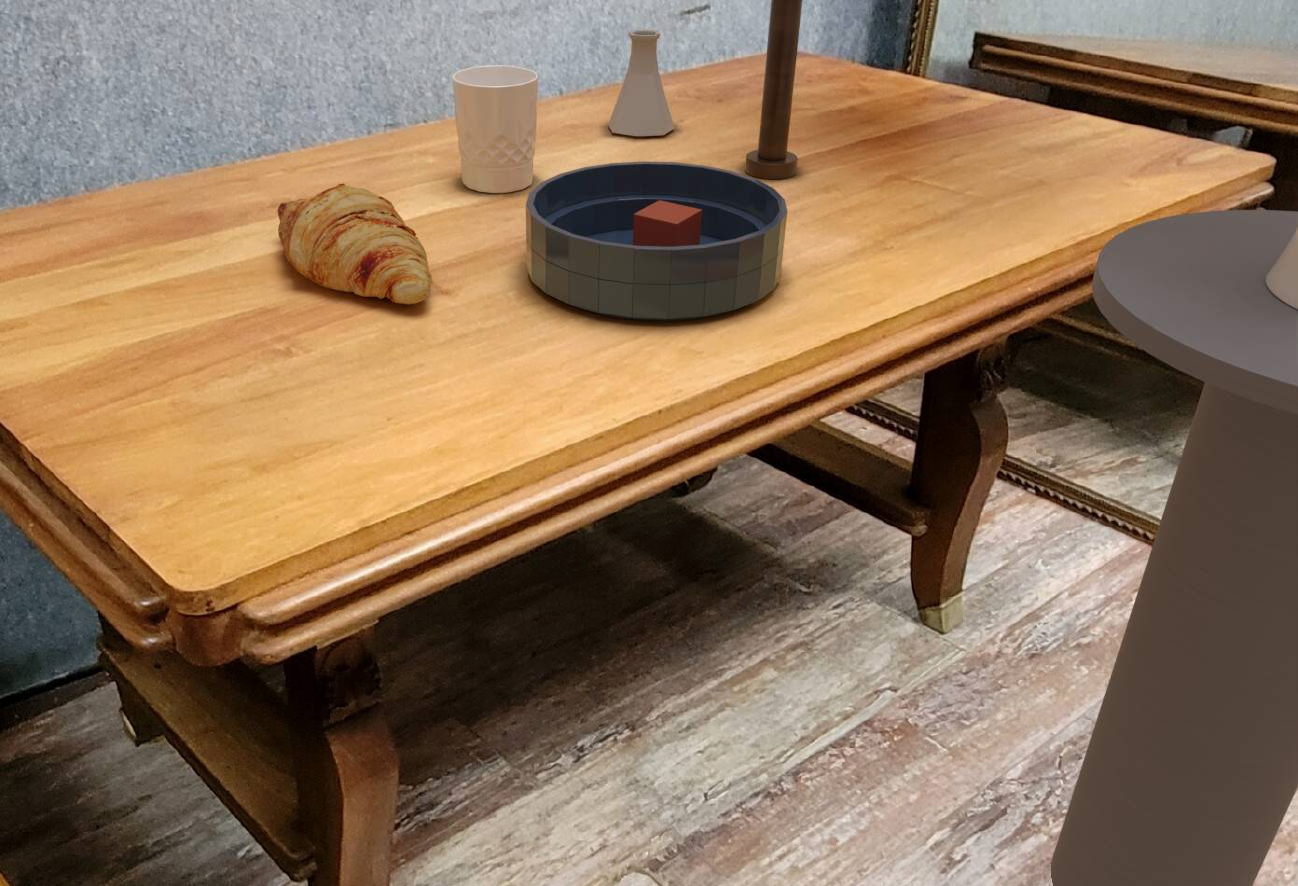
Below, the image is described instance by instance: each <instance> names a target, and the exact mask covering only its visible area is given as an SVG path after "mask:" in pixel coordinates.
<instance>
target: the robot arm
mask: <svg viewBox="0 0 1298 886" xmlns="http://www.w3.org/2000/svg"><path fill="white" fill-rule="evenodd" d="M1265 281H1266V285H1267V287H1268V288H1269V290H1270V291H1271V292H1272V293H1273V294H1274V295H1275V296H1276V297H1277V298H1279V299H1280V300H1282V301H1283V302H1285V303H1286V304H1288V305H1290V306H1291V307H1293V308H1295V309H1297V310H1298V228H1297V229H1296V231H1295V233H1294V235H1293V237H1292V238H1291V240H1290V242H1289V243H1288V245H1287V246H1286V248H1285V250H1284V251H1283V253H1282V254H1281V256H1280V257H1279V259H1278V260H1277V262H1276V263H1275V265H1274V266H1273V267H1272V268H1271V270H1270V271H1269V272H1268V274H1267V275H1266V279H1265Z"/></svg>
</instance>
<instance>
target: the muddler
mask: <svg viewBox="0 0 1298 886" xmlns="http://www.w3.org/2000/svg"><path fill="white" fill-rule="evenodd" d="M802 9H803V0H770V12H769V21H768V22H769V23H768V33H767V45H766V55H765V56H766V58H765V66H764V79H763V88H762V89H763V90H762V100H761V112H760V121H759V122H760V124H759V134H758V145H757V149H754V150H751V151H749V152H747V153H746V155H745V163H744V171H745V172H744V173H746V174H747V175H749V176H750V177H753V178H756V179H757V178H758V179H762V180H763V179H764V180H785V179H789V178H792V177H794V176H795V175H796V173H797V168H798V159H799V158H798V156H797V154H795V153H793V152H791V151H789V150H788V147H789V145H788V144H789V136H790V135H789V134H790V126H791V115H792V105H793V96H794V88H795V87H794V86H795V77H796V66H797V57H798V49H799V46H798V45H799V39H800V29H801V28H800V27H801V19H802Z"/></svg>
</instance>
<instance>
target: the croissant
mask: <svg viewBox="0 0 1298 886" xmlns="http://www.w3.org/2000/svg"><path fill="white" fill-rule="evenodd" d="M277 215H278V219H279V224H278V226H277V227H278V229H277V232H278V237H279V239H280V242H281V245H282V250H283V253H284V256H285V258H286V260H287V262H288V263H289V264H290V265H291V266H292V267H293V268H294V270H296V272H297V273H299V274H300V275H302V276H304V277H305V278H307V279H309V280H310V281H312V283H314V284H316V285H319V286H321V287H323V288H326V289H327V288H328V289H331V290H335V291H340V292H346V293H354V295H358V296H360V297H367V298H369V297H370V298H373V297H374V298H376V297H377V298H378V299H379V300H381V299H385V298H387V299H389V301H391V302H392V303H395V304H401V305H402V304H403V305H414V304H418V303H421V302H423V301H425V300H426V299H427V298H428V297H429V295H430V293H431V287H432V279H433V276H432V274H431V272H430V267H429V261H428V257H427V252H426V250H425V247H424V245H423V244H422V242H421V240H419V238H418V237H417V233H416V231H415V230H414V229H412V228H411V227H409V226H408V225H406V223H405V222H404V221H405V220H404V219H403V218H402V217H401V216H400V214H399V212H398V211H397V210H396V209H395V206H394V205H393V203H392V201H390V200H389V199H387V198H385V197H383V196H381V195H379V194H376V193H374V192H372V191H370V190H368V189H365V188H361V187H355V186H351V185H346V183H338V184H337V185H336V186H333V187H330V188H327V189H325V190H323V191H321V192H319V193H317V194H315V195H314V196H313V197H309V198H299V199H297V200H294V201H293V200H290V201H287V202H280V204H279V206H278V207H277Z"/></svg>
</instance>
